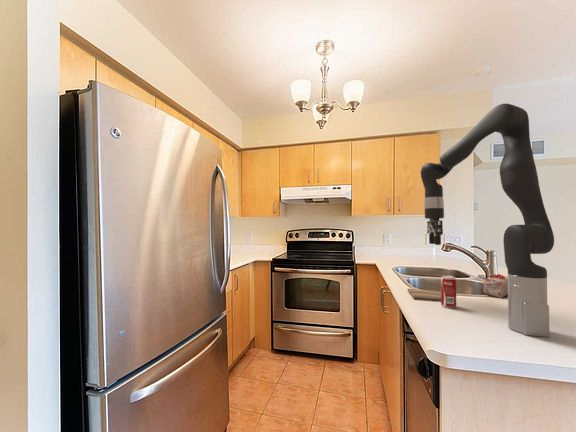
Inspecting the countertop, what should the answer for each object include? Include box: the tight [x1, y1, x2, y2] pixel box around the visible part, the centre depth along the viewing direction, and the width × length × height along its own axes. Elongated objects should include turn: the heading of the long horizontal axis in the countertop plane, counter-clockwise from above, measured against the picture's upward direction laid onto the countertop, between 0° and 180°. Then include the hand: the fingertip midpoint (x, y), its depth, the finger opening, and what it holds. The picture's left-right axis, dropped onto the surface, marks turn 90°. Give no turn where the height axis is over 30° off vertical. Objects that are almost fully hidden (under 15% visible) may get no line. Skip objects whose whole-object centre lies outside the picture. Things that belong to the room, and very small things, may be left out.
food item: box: [483, 273, 508, 299], centre depth 123 cm, size 14×8×10 cm, turn 126°
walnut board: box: [407, 288, 441, 302], centre depth 121 cm, size 15×15×1 cm
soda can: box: [440, 275, 457, 309], centre depth 106 cm, size 5×5×12 cm
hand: (434, 244), depth 116 cm, fingers open, 8 cm apart
